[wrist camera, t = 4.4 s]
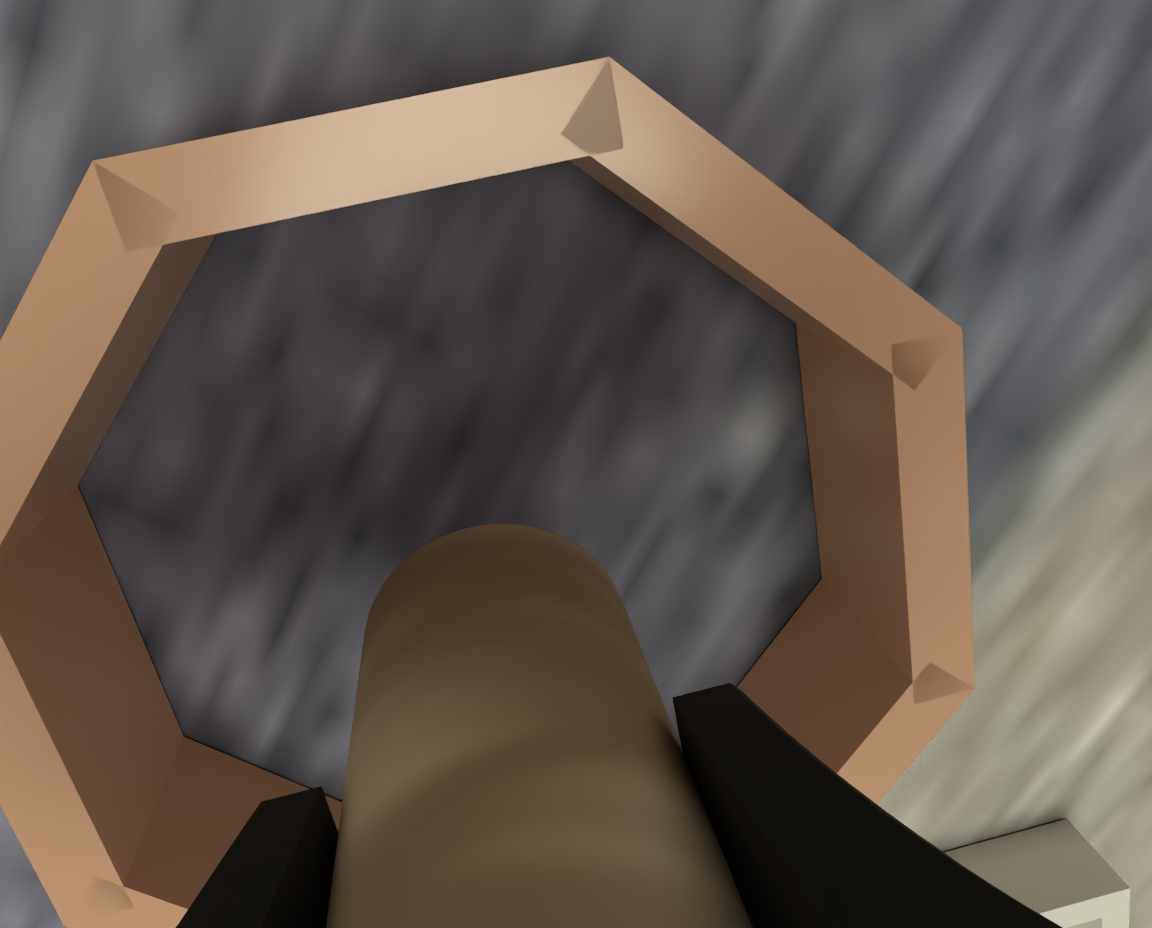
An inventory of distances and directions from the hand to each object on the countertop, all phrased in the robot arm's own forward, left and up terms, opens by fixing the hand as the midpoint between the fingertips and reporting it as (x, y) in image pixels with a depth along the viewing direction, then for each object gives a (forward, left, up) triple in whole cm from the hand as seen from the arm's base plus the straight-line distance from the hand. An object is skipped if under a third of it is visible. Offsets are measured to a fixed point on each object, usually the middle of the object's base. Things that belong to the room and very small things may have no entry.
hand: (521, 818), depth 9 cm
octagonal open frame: (0, 0, -7) cm, 7 cm away
